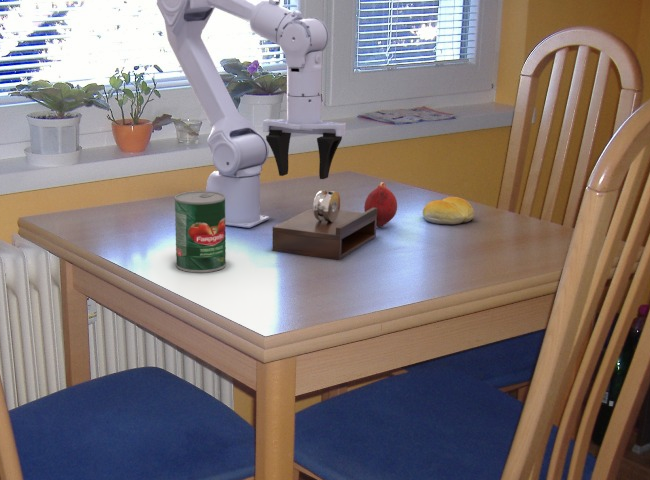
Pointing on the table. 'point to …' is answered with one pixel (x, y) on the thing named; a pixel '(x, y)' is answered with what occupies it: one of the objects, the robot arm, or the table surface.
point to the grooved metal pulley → (326, 206)
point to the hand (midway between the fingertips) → (303, 176)
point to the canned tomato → (200, 231)
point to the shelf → (325, 234)
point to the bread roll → (448, 211)
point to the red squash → (382, 204)
